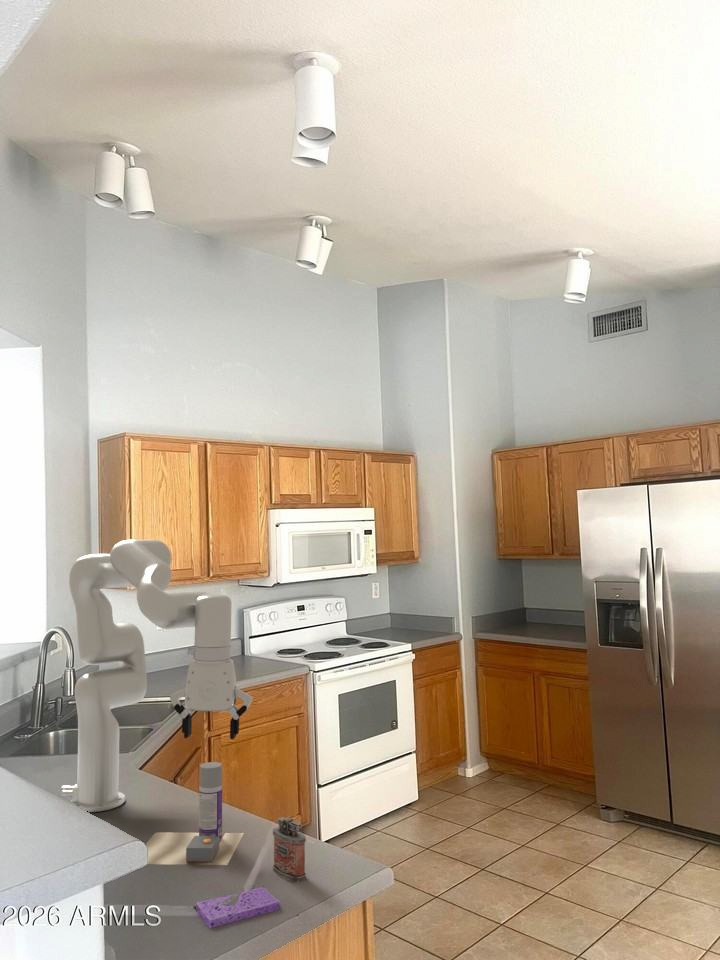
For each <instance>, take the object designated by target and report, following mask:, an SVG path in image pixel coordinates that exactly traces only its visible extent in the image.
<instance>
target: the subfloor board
mask: <svg viewBox="0 0 720 960" xmlns="http://www.w3.org/2000/svg"><path fill="white" fill-rule="evenodd" d="M244 834H245V832H222V840H221V841H220V842H219V851H218V852H217V854H216V856H215V857H214V859H213V861H212V862H186V848H187V846H188V845H189V843H190V842H191V840H192V839H193V838H194V836H199V832H167V831H166V832H164V831H162V832H161V831H160V832H159V831H158V832H157V831H156V832H154V834H153V835H152V836H151V837H150V838H149V840H148V841H147V842H146V843H145V844H146V846H147V849H148V864H147V865H153V866H154V865H162V866H163V865H165V866H167V865H169V866H171V865H172V866H173V865H174V866H177V865H178V866H179V865H180V866H181V865H183V866H228V865H229V862H230V861H231V858H233V856H234V853H235V851H237V848H238V846H239V844H240V842H241V840H242V838H243V837H244Z"/></svg>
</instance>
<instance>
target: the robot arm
mask: <svg viewBox="0 0 720 960" xmlns="http://www.w3.org/2000/svg"><path fill="white" fill-rule="evenodd" d="M171 553H172V552H171V550H170V548H169V547H168V545H167V544H166V543H164V542H163V541H162V540H159V539H158V540H157V539H126V540H121V541H119V542H118V543H116V544H115V545H114V546H113V547H112V549H110V551H109V553H97V554H96V553H94V554H93V553H92V554H87V555H84V556H81V557H79V558H77V559H76V560H75V561H74V563H73V564H72V566H71V568H70V571H69V577H68V578H69V581H68V583H69V584H68V585H69V589H70V593H71V597H72V600H73V604H74V608H75V614H76V629H77V630H76V631H77V644H78V653H79V658H80V660H81V661H82V662H83V664H85V665H88V666H89V665H90V666H96V665H98V666H99V665H106V664H113V663H118V666H119V667H114V668H106V669H98V670H93V671H90V672H87V673H85V674H83V675H81V677H79V678H78V680H77V681H76V683H75V685H74V698H75V699H74V701H75V704H76V705H75V706H76V711H77V732H78V733H77V735H78V736H77V772H76V773H77V774H76V775H77V776H76V778H77V779H76V780H77V781H76V784H75V785H62V786H61V788H60V793H61V796H62V797H70V798H71V800H70V801H69V804H70V803H72V804H74V805H76V806H78V807H80V808H82V809H84V810H86V811H88V812H87V813H96V812H103V811H109V810H112V809H115V808H118V807H119V806H122V805H123V803H125V801H126V794H124V793H123V792H121V791H119V783H120V782H119V781H120V780H119V773H120V768H119V767H120V725H119V722H118V720H117V719H116V717H115V715H114V714H113V713H112V711H111V710H112V709H115V708H120V707H125V706H126V707H127V706H131V705H135V704H137V703H140V702H141V701H142V700H143V699H144V697H145V696H146V693H147V688H148V679H147V676H148V675H147V667H146V664H147V663H146V654H145V653H146V651H145V643H144V637H143V634H142V633H141V630H140V629H139V628H138V627H137V625H135V624H133V623H130V622H129V623H128V622H122V623H121V622H120V623H114V618H113V617H114V616H113V607H112V604H111V601H110V600H109V598H108V597H107V596H106V595H105V594H104V592H103V591H102V589H115V588H116V589H117V588H133V587H134V588H135V589H136V601H137V604H138V607H139V610H140V612H141V613H142V615H143V616H144V617H145V618H147V619H148V621H150V622H151V623H152V624H153V625H155V626H157V627H158V628H161V629H163V630H174V629H183V628H193V627H194V644H193V647H188V648H187V651H186V652H187V655H190V656H192V658H193V659H192V660H190V661H189V663H188V668H187V669H188V670H187V675H186V683H185V684H186V685H185V688H184V689H183V688H182V689H181V690H179V691H177V692H175V693H173V694H171V695H170V697H169V699H170V702H171V703H172V704H171V705H172V706H173V708H174V710H175V712H176V713H177V714H178V715H179V716H180V718H181V723H182V724H181V732H182V734H183V738H184V739H188V738H189V737H190V736H191V735H192V724H193V719H192V718H193V717H192V715H191V713H192V712H193V711H196V712H227V713H228V714H229V715H230V716H231V719H230V721H229V727H230V728H229V739H230V740H235V738H236V737H237V735H239V733H240V717H241V716H242V715H243V714H244V713H245V712H246V711H247V710H248V709H249V706H250V705H251V704H252V701H253V700H254V698H253V696H252V695H250V694H249V693H246V692H244V691H243V690H241V689H239V688H237V679H236V677H237V676H236V670H235V668H236V667H235V663H234V660H233V659H231V650H232V649H231V643H232V642H231V640H232V639H231V638H232V599H231V598H230V596H228V595H225V594H212V593H209V592H206V591H184V592H173V593H171V592H170V593H168V592H166V591H165V590H166V589H167V588H168V586H169V585H170V583H171V581H172V580H171V579H172V575H173V573H172V569H171V567H170V566H171V562H172V554H171ZM183 697H184V705H183V704H182V703H181V701H180V699H181V698H183ZM237 698H239V699H241V700H242V701H243V703H242V705H241V706H240V708H238V706H237V705H236V703H237Z"/></svg>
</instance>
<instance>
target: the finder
mask: <svg viewBox="0 0 720 960" xmlns="http://www.w3.org/2000/svg"><path fill="white" fill-rule="evenodd" d="M218 851H219V836H194V838H193V839H192V840H191V842H190V843H189V845H188V846H187V848H186V862H212V861H213V859H214V857H215V856H216V854H217V852H218Z"/></svg>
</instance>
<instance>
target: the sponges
mask: <svg viewBox="0 0 720 960" xmlns="http://www.w3.org/2000/svg"><path fill="white" fill-rule="evenodd" d="M236 897H238V898H237V900H236V903H235V904H234V903H233V904H230V905H227V904H229V903H230V902H232V901H233V899H234V898H236ZM230 898H231V899H232V900H231V899H230ZM226 901H227V902H226ZM204 903H205V904H204ZM218 903H219V904H218ZM224 904H225V905H224ZM195 906H196V907H195V908H196V909H195V910H196V912H197V914H198V915H199V916H200V918H201V919H202V920H203V921H204V923H205V924H206V925H207V926H208V928H210V929H211V928H215V927H219V926H223V925H226V924H229V923H234V922H238V921H241V920H244V919H248V918H253V917H255V916H259V915H263V914H268V913H271V912H276V911H278V909H280V907H281V901H280V900H279V899H277V897H275V896H274V895H272V894H271V893H270V892H269V891H268V890H267V889H266V888H265V887H264V886H262V887H258V888H254V889H249V890H245V891H243V892H240V894H239V896H238V893H233V894H228V895H226V896H220V897H216V898H211V899H206V900H203V901H198V902H195Z"/></svg>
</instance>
